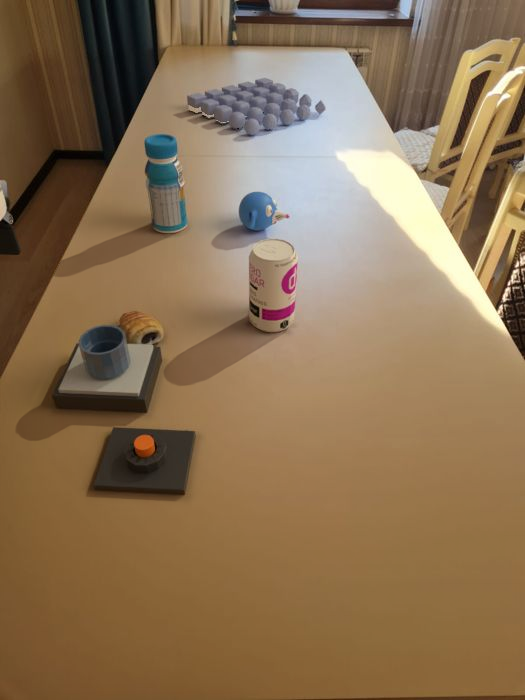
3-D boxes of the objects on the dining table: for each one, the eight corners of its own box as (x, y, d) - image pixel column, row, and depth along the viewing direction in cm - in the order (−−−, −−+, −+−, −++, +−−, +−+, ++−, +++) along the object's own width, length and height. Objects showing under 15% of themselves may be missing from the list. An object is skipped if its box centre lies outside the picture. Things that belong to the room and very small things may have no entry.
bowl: (80, 380, 82) (72, 353, 78) (93, 350, 87) (86, 324, 83) (124, 382, 82) (119, 355, 78) (135, 352, 87) (130, 325, 83)
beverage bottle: (164, 238, 121) (153, 150, 108) (144, 224, 126) (132, 137, 113) (195, 227, 125) (188, 140, 112) (175, 213, 130) (166, 129, 117)
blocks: (264, 91, 204) (264, 77, 201) (329, 115, 185) (331, 100, 181) (187, 110, 187) (186, 95, 184) (250, 139, 168) (250, 122, 164)
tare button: (133, 457, 73) (131, 449, 71) (138, 442, 74) (136, 434, 73) (152, 458, 72) (151, 450, 71) (156, 443, 74) (155, 435, 73)
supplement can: (301, 315, 101) (306, 244, 91) (280, 340, 95) (283, 267, 85) (264, 302, 104) (265, 232, 94) (241, 325, 98) (239, 253, 88)
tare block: (95, 490, 72) (90, 477, 70) (114, 432, 79) (110, 418, 77) (184, 495, 71) (183, 481, 69) (195, 436, 79) (194, 422, 77)
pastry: (111, 327, 97) (107, 310, 95) (144, 313, 101) (142, 297, 98) (134, 355, 92) (131, 337, 89) (169, 340, 95) (167, 323, 92)
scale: (56, 409, 82) (50, 391, 80) (80, 356, 91) (75, 339, 89) (147, 413, 82) (143, 395, 80) (162, 360, 91) (159, 342, 89)
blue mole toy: (281, 246, 119) (282, 211, 114) (231, 236, 122) (229, 202, 117) (296, 221, 128) (298, 187, 122) (249, 213, 131) (248, 180, 125)
